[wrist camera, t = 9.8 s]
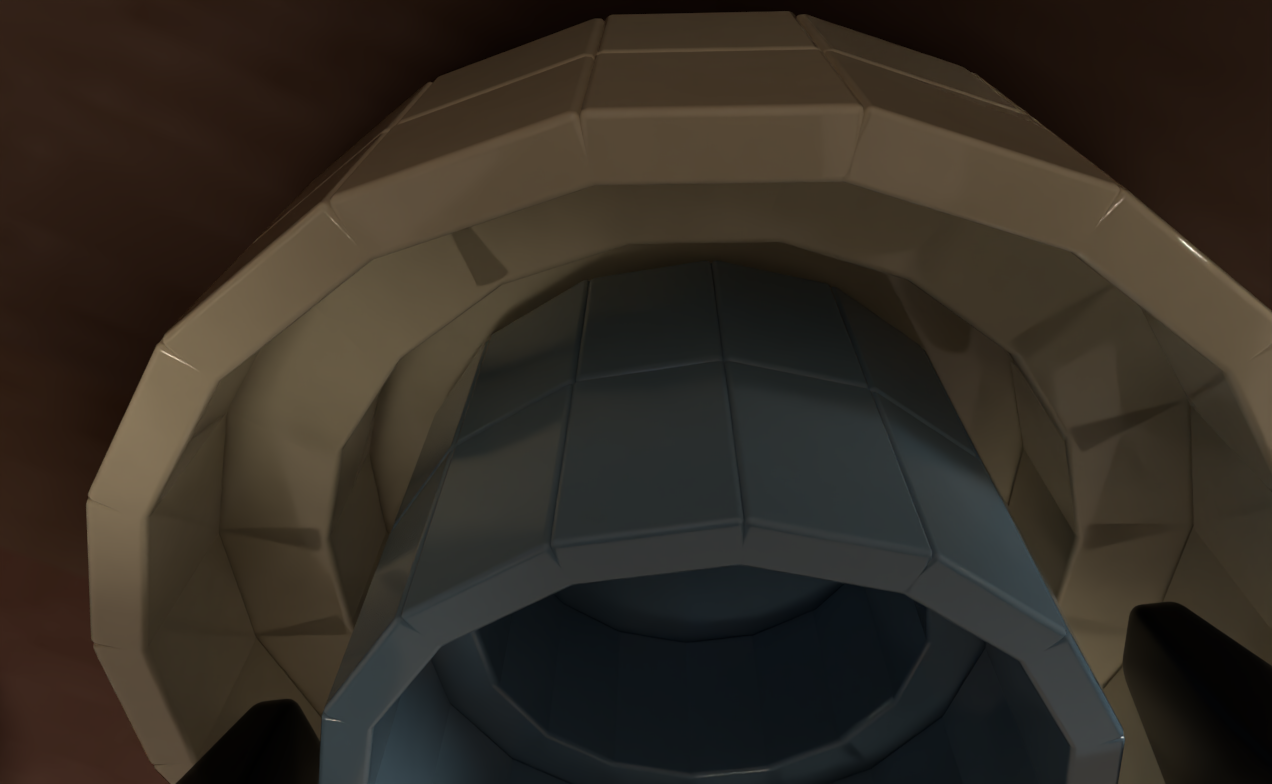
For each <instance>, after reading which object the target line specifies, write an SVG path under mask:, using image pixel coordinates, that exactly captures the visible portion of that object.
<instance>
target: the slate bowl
mask: <svg viewBox="0 0 1272 784" xmlns="http://www.w3.org/2000/svg"><path fill="white" fill-rule="evenodd" d="M1124 745H1125V736H1124V732H1123V727H1122V725H1121V723H1120V721H1119V719H1118V718H1117V716H1116V714H1115V712H1114V710H1113V708H1112V706H1111V704H1110V702H1109V700H1108V698H1107V696H1106V694H1105V692H1104V691H1103V689H1102V687H1101V685H1100V683H1099V681H1098V679H1097V677H1096V675H1095V673H1094V671H1093V669H1092V667H1091V665H1090V664H1089V662H1088V660H1087V658H1086V656H1085V654H1084V652H1083V650H1082V648H1081V646H1080V644H1079V642H1078V640H1077V638H1076V637H1075V635H1074V633H1073V631H1072V629H1071V627H1070V625H1069V623H1068V621H1067V619H1066V617H1065V615H1064V613H1063V611H1062V610H1061V608H1060V606H1059V604H1058V602H1057V600H1056V598H1055V596H1054V594H1053V592H1052V590H1051V588H1050V586H1049V584H1048V583H1047V581H1046V579H1045V577H1044V575H1043V573H1042V571H1041V569H1040V567H1039V565H1038V563H1037V561H1036V559H1035V557H1034V556H1033V554H1032V552H1031V550H1030V548H1029V546H1028V544H1027V542H1026V540H1025V538H1024V536H1023V534H1022V532H1021V531H1020V529H1019V527H1018V525H1017V523H1016V521H1015V519H1014V517H1013V515H1012V513H1011V511H1010V509H1009V507H1008V505H1007V504H1006V502H1005V500H1004V498H1003V496H1002V494H1001V492H1000V490H999V488H998V486H997V484H996V482H995V480H994V478H993V477H992V475H991V473H990V471H989V469H988V467H987V465H986V463H985V461H984V459H983V457H982V455H981V453H980V451H979V450H978V448H977V446H976V444H975V442H974V440H973V438H972V436H971V434H970V432H969V430H968V428H967V426H966V425H965V423H964V421H963V419H962V417H961V415H960V414H959V412H958V410H957V408H956V406H955V404H954V402H953V401H952V399H951V397H950V395H949V393H948V391H947V389H946V388H945V386H944V384H943V382H942V380H941V378H940V376H939V375H938V373H937V371H936V369H935V367H934V365H933V364H932V362H931V360H930V358H929V356H928V354H927V352H926V351H925V350H923V349H922V348H921V346H920V345H919V344H918V343H916V342H915V341H913V340H912V339H911V338H909V337H908V336H906V335H905V334H903V333H902V332H900V331H899V330H898V329H896V328H895V327H893V326H892V325H890V324H889V323H888V322H886V321H885V320H883V319H882V318H880V317H879V316H877V315H876V314H875V313H873V312H872V311H870V310H869V309H867V308H866V307H864V306H863V305H862V304H860V303H859V302H857V301H856V300H854V299H853V298H851V297H850V296H849V295H847V294H846V293H844V292H843V291H841V290H840V289H839V288H837V287H833V286H832V287H831V286H830V285H829V284H827V283H822V282H818V281H813V280H808V279H803V278H799V277H794V276H789V275H784V274H780V273H775V272H770V271H765V270H761V269H756V268H751V267H746V266H742V265H737V264H732V263H727V262H723V261H718V260H714V261H713V262H712V263H710V262H709V261H698V262H692V263H686V264H679V265H673V266H667V267H660V268H654V269H647V270H641V271H635V272H628V273H622V274H616V275H609V276H603V277H597V278H593V279H591V280H590V281H589V280H584V281H582V282H580V283H578V284H577V285H575V286H573V287H572V288H570V289H568V290H567V291H565V292H563V293H561V294H560V295H558V296H556V297H555V298H553V299H551V300H550V301H548V302H546V303H545V304H543V305H541V306H539V307H538V308H536V309H534V310H533V311H531V312H529V313H528V314H526V315H524V316H523V317H521V318H519V319H517V320H516V321H514V322H512V323H511V324H509V325H507V326H506V327H504V328H502V329H501V330H499V331H497V332H495V333H494V334H492V335H491V337H490V340H488V341H486V342H485V343H484V345H483V346H482V347H481V349H480V350H479V352H478V353H477V355H476V356H475V358H474V359H473V360H472V362H471V363H470V365H469V366H468V368H467V369H466V371H465V372H464V373H463V375H462V376H461V378H460V379H459V381H458V382H457V384H456V385H455V386H454V388H453V389H452V391H451V392H450V394H449V395H448V396H447V398H446V399H445V401H444V402H443V404H442V405H441V407H440V408H439V409H438V411H437V412H436V414H435V416H434V419H433V421H432V423H431V426H430V429H429V431H428V434H427V437H426V439H425V442H424V445H423V447H422V450H421V453H420V455H419V458H418V461H417V463H416V466H415V469H414V471H413V474H412V477H411V479H410V482H409V485H408V487H407V490H406V493H405V495H404V498H403V501H402V503H401V506H400V508H399V511H398V514H397V516H396V519H395V522H394V524H393V527H392V530H391V532H390V535H389V537H388V540H387V542H386V545H385V548H384V550H383V553H382V555H381V558H380V561H379V563H378V566H377V569H376V571H375V574H374V577H373V579H372V582H371V585H370V587H369V590H368V593H367V595H366V598H365V601H364V603H363V606H362V609H361V611H360V614H359V617H358V619H357V622H356V624H355V627H354V630H353V632H352V635H351V638H350V640H349V643H348V646H347V648H346V651H345V654H344V656H343V659H342V662H341V664H340V667H339V670H338V672H337V675H336V678H335V680H334V683H333V686H332V688H331V691H330V693H329V696H328V699H327V701H326V704H325V707H324V709H323V712H322V715H321V735H320V757H319V780H318V784H1118V780H1119V774H1120V768H1121V762H1122V756H1123V750H1124Z"/></svg>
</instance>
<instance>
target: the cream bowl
mask: <svg viewBox="0 0 1272 784" xmlns="http://www.w3.org/2000/svg"><path fill="white" fill-rule="evenodd" d="M714 260H718V261H723V262H727V263H732V264H737V265H742V266H746V267H751V268H756V269H761V270H765V271H770V272H775V273H780V274H784V275H789V276H794V277H799V278H803V279H808V280H813V281H818V282H822V283H827V284H829V285H830V286H831V287H832V286H833V287H837V288H839V289H840V290H841V291H843V292H844V293H846V294H847V295H849V296H850V297H851V298H853V299H854V300H856V301H857V302H859V303H860V304H862V305H863V306H864V307H866V308H867V309H869V310H870V311H872V312H873V313H875V314H876V315H877V316H879V317H880V318H882V319H883V320H885V321H886V322H888V323H889V324H890V325H892V326H893V327H895V328H896V329H898V330H899V331H900V332H902V333H903V334H905V335H906V336H908V337H909V338H911V339H912V340H913V341H915V342H916V343H918V344H919V345H920V346H921V348H922V349H923V350H925V351H926V352H927V354H928V356H929V358H930V360H931V362H932V364H933V365H934V367H935V369H936V371H937V373H938V375H939V376H940V378H941V380H942V382H943V384H944V386H945V388H946V389H947V391H948V393H949V395H950V397H951V399H952V401H953V402H954V404H955V406H956V408H957V410H958V412H959V414H960V415H961V417H962V419H963V421H964V423H965V425H966V426H967V428H968V430H969V432H970V434H971V436H972V438H973V440H974V442H975V444H976V446H977V448H978V450H979V451H980V453H981V455H982V457H983V459H984V461H985V463H986V465H987V467H988V469H989V471H990V473H991V475H992V477H993V478H994V480H995V482H996V484H997V486H998V488H999V490H1000V492H1001V494H1002V496H1003V498H1004V500H1005V502H1006V504H1007V505H1008V507H1009V509H1010V511H1011V513H1012V515H1013V517H1014V519H1015V521H1016V523H1017V525H1018V527H1019V529H1020V531H1021V532H1022V534H1023V536H1024V538H1025V540H1026V542H1027V544H1028V546H1029V548H1030V550H1031V552H1032V554H1033V556H1034V557H1035V559H1036V561H1037V563H1038V565H1039V567H1040V569H1041V571H1042V573H1043V575H1044V577H1045V579H1046V581H1047V583H1048V584H1049V586H1050V588H1051V590H1052V592H1053V594H1054V596H1055V598H1056V600H1057V602H1058V604H1059V606H1060V608H1061V610H1062V611H1063V613H1064V615H1065V617H1066V619H1067V621H1068V623H1069V625H1070V627H1071V629H1072V631H1073V633H1074V635H1075V637H1076V638H1077V640H1078V642H1079V644H1080V646H1081V648H1082V650H1083V652H1084V654H1085V656H1086V658H1087V660H1088V662H1089V664H1090V665H1091V667H1092V669H1093V671H1094V673H1095V675H1096V677H1097V679H1098V681H1099V683H1100V685H1101V687H1102V689H1103V691H1104V692H1105V694H1106V696H1107V698H1108V700H1109V702H1110V704H1111V706H1112V708H1113V710H1114V712H1115V714H1116V716H1117V718H1118V719H1119V721H1120V723H1121V725H1122V727H1123V732H1124V736H1125V745H1124V750H1123V756H1122V762H1121V768H1120V774H1119V780H1118V784H1165V781H1164V779H1163V776H1162V773H1161V771H1160V768H1159V766H1158V763H1157V761H1156V758H1155V755H1154V753H1153V750H1152V748H1151V745H1150V743H1149V740H1148V737H1147V735H1146V732H1145V730H1144V727H1143V724H1142V722H1141V719H1140V717H1139V714H1138V712H1137V709H1136V706H1135V704H1134V701H1133V699H1132V696H1131V694H1130V691H1129V688H1128V686H1127V683H1126V680H1125V676H1124V672H1123V662H1122V661H1123V652H1124V646H1125V639H1126V633H1127V626H1128V620H1129V615H1130V612H1131V610H1132V609H1133V608H1134V607H1135V606H1137V605H1141V604H1150V603H1159V602H1176V603H1179V604H1181V605H1183V606H1185V607H1186V608H1188V609H1189V610H1191V611H1192V612H1194V613H1195V614H1197V615H1198V616H1200V617H1201V618H1203V619H1204V620H1205V621H1207V622H1208V623H1210V624H1211V625H1213V626H1214V627H1216V628H1217V629H1219V630H1220V631H1222V632H1223V633H1225V634H1226V635H1228V636H1229V637H1230V638H1232V639H1233V640H1235V641H1236V642H1238V643H1239V644H1241V645H1242V646H1244V647H1245V648H1247V649H1248V650H1250V651H1251V652H1252V653H1254V654H1255V655H1257V656H1258V657H1260V658H1261V659H1263V660H1264V661H1266V662H1267V663H1269V664H1270V665H1272V311H1271V310H1270V309H1269V308H1268V307H1266V306H1265V305H1264V304H1263V303H1262V302H1261V301H1259V300H1258V299H1257V298H1256V297H1255V296H1253V295H1252V294H1251V293H1250V292H1249V291H1247V290H1246V289H1245V288H1244V287H1243V286H1241V285H1240V284H1239V283H1238V282H1237V281H1235V280H1234V279H1233V278H1232V277H1231V276H1230V275H1228V274H1227V273H1226V272H1225V271H1224V270H1222V269H1221V268H1220V267H1219V266H1218V265H1216V264H1215V263H1214V262H1213V261H1212V260H1210V259H1209V258H1208V257H1207V256H1206V255H1205V254H1203V253H1202V252H1201V251H1200V250H1199V249H1197V248H1196V247H1195V246H1194V245H1193V244H1191V243H1190V242H1189V241H1188V240H1187V239H1185V238H1184V237H1183V236H1182V235H1181V234H1180V233H1178V232H1177V231H1176V230H1175V229H1174V228H1172V227H1171V226H1170V225H1169V224H1168V223H1166V222H1165V221H1164V220H1163V219H1162V218H1160V217H1159V216H1158V215H1157V214H1156V213H1155V212H1153V211H1152V210H1151V209H1150V208H1149V207H1147V206H1146V205H1145V204H1144V203H1143V202H1141V201H1140V200H1139V199H1138V198H1137V197H1135V196H1134V195H1133V194H1132V193H1131V192H1130V191H1128V190H1127V189H1126V188H1124V187H1123V186H1122V185H1121V184H1119V183H1118V182H1117V181H1115V180H1114V179H1113V178H1111V177H1110V176H1109V175H1108V174H1106V173H1105V172H1104V171H1102V170H1101V169H1100V168H1098V167H1097V166H1096V165H1095V164H1093V163H1092V162H1091V161H1089V160H1088V159H1087V158H1085V157H1084V156H1083V155H1082V154H1080V153H1079V152H1078V151H1076V150H1075V149H1074V148H1072V147H1071V146H1070V145H1069V144H1067V143H1066V142H1065V141H1063V140H1062V139H1061V138H1059V137H1058V136H1057V135H1056V134H1054V133H1053V132H1052V131H1050V130H1049V129H1048V128H1046V127H1045V126H1044V125H1042V124H1041V123H1039V122H1038V121H1037V120H1036V119H1035V118H1033V117H1032V116H1031V115H1029V114H1028V113H1027V112H1026V111H1024V110H1023V109H1022V108H1020V107H1019V106H1018V105H1016V104H1015V103H1014V102H1013V101H1011V100H1010V99H1009V98H1007V97H1006V96H1005V95H1003V94H1002V93H1001V92H1000V91H998V90H997V89H996V88H994V87H993V86H992V85H990V84H989V83H988V82H987V81H985V80H984V79H983V78H981V77H980V76H979V75H977V74H975V73H970V72H969V71H968V70H967V69H965V68H964V67H962V66H959V65H956V64H953V63H950V62H947V61H944V60H941V59H938V58H935V57H932V56H929V55H926V54H923V53H920V52H917V51H914V50H911V49H908V48H905V47H902V46H899V45H896V44H893V43H890V42H887V41H884V40H881V39H878V38H875V37H872V36H869V35H866V34H863V33H860V32H857V31H854V30H851V29H848V28H845V27H842V26H839V25H836V24H833V23H830V22H827V21H824V20H821V19H818V18H815V17H812V16H809V15H806V14H803V15H798V16H797V17H796V16H795V15H794V14H793V13H791V12H789V11H772V12H722V13H673V14H623V15H610V16H608V17H606V19H605V22H604V21H603V20H602V19H597V18H594V19H592V20H589V21H586V22H584V23H581V24H578V25H576V26H573V27H570V28H567V29H565V30H562V31H559V32H557V33H554V34H551V35H549V36H546V37H543V38H541V39H538V40H535V41H533V42H530V43H527V44H525V45H522V46H519V47H517V48H514V49H511V50H509V51H506V52H503V53H500V54H498V55H495V56H492V57H490V58H487V59H484V60H482V61H479V62H476V63H474V64H471V65H468V66H466V67H463V68H460V69H458V70H455V71H452V72H450V73H447V74H444V75H442V76H439V77H438V78H437V79H436V80H435V81H434V82H433V83H432V82H429V83H426V84H425V85H423V86H422V87H421V88H420V89H419V90H418V91H416V92H415V93H414V94H413V95H412V96H411V97H410V98H408V99H407V100H406V101H405V102H404V103H403V104H401V105H400V106H399V107H398V108H397V109H396V110H394V111H393V112H392V113H391V114H390V115H389V116H388V117H386V118H385V119H384V120H383V121H382V122H381V123H379V124H378V125H377V126H376V127H375V128H374V129H373V130H371V131H370V132H369V133H368V134H367V135H366V136H364V137H363V138H362V139H361V140H360V141H359V142H357V143H356V144H355V145H354V146H353V147H352V148H351V149H349V150H348V151H347V152H346V153H345V154H344V155H342V156H341V157H340V158H339V159H338V160H337V161H335V162H334V163H333V164H332V165H331V166H330V167H329V168H327V169H326V170H325V171H324V172H323V173H322V174H320V175H319V176H318V177H317V178H316V179H315V180H313V181H312V182H311V183H310V184H309V185H308V186H307V187H306V188H305V189H304V190H303V191H302V192H301V193H300V194H299V196H298V197H297V198H296V199H295V200H294V201H293V202H292V203H291V204H290V205H289V206H288V207H287V208H286V209H285V210H284V211H283V212H282V213H281V214H280V215H279V216H278V217H277V218H276V219H275V220H274V221H273V222H272V223H271V224H270V225H269V226H268V227H267V228H266V230H265V231H264V232H263V233H262V234H261V235H260V236H259V237H258V238H257V239H256V240H255V241H254V242H253V244H252V245H251V246H249V247H248V248H247V249H246V250H245V251H244V252H243V253H242V254H241V255H240V256H239V257H238V259H237V260H236V261H235V262H234V263H233V264H232V265H231V266H230V267H229V268H228V269H227V270H226V271H225V272H224V273H223V274H222V275H221V276H220V277H219V278H218V279H217V280H216V281H215V282H214V283H213V284H212V285H211V286H210V287H209V288H208V289H207V290H206V292H205V293H204V294H203V295H202V296H201V297H200V298H199V299H198V300H197V301H196V302H195V303H194V304H193V305H192V306H191V307H190V308H189V309H188V310H187V311H186V312H185V313H184V314H183V315H182V316H181V317H180V318H179V319H178V320H177V321H176V322H175V323H174V325H173V326H172V327H171V328H170V329H169V330H168V331H167V332H166V333H165V334H164V337H163V338H162V339H161V340H160V341H159V342H158V343H157V344H156V346H155V348H154V350H153V352H152V355H151V357H150V359H149V361H148V363H147V365H146V368H145V370H144V372H143V374H142V376H141V378H140V380H139V383H138V385H137V387H136V389H135V391H134V393H133V396H132V398H131V400H130V402H129V404H128V406H127V409H126V411H125V413H124V415H123V417H122V419H121V421H120V424H119V426H118V428H117V430H116V432H115V434H114V437H113V439H112V441H111V443H110V445H109V447H108V450H107V452H106V454H105V456H104V458H103V460H102V462H101V465H100V467H99V469H98V471H97V473H96V475H95V478H94V480H93V482H92V484H91V486H90V488H89V492H88V497H89V498H88V499H87V502H86V515H87V541H88V568H89V595H90V622H91V640H92V642H93V643H94V651H95V653H96V655H97V657H98V659H99V661H100V663H101V665H102V667H103V669H104V671H105V673H106V675H107V677H108V679H109V681H110V683H111V685H112V687H113V689H114V691H115V693H116V695H117V697H118V699H119V701H120V703H121V705H122V707H123V709H124V711H125V713H126V715H127V717H128V719H129V721H130V723H131V725H132V727H133V729H134V731H135V733H136V735H137V737H138V739H139V741H140V744H141V746H142V748H143V750H144V752H145V754H146V756H147V758H148V760H149V762H150V763H152V764H154V768H155V770H156V771H157V772H158V773H159V774H160V775H161V776H162V777H163V778H164V779H165V780H166V781H167V782H168V783H169V784H176V783H177V782H178V781H179V780H180V779H181V778H182V777H183V776H184V775H185V774H186V773H187V772H188V771H189V770H190V769H191V768H192V767H193V765H194V764H195V763H196V762H197V761H198V760H199V759H200V758H201V757H202V756H203V755H204V754H205V753H206V752H207V751H208V750H209V749H210V748H211V747H212V746H213V745H214V744H215V743H216V742H217V741H218V740H219V739H220V738H221V737H222V736H223V735H224V734H225V733H226V732H227V731H228V730H229V729H230V728H231V727H232V726H233V725H234V724H235V723H236V722H237V721H238V720H239V719H240V718H241V717H242V716H243V715H244V714H245V713H246V712H247V711H248V710H249V709H250V708H251V707H252V706H254V705H255V704H257V703H259V702H262V701H270V700H279V699H292V700H294V701H296V702H297V703H298V704H299V706H300V707H301V709H302V711H303V712H304V714H305V716H306V718H307V719H308V721H309V723H310V725H311V726H312V728H313V730H314V731H315V733H316V735H317V737H318V738H319V740H320V735H321V715H322V712H323V709H324V707H325V704H326V701H327V699H328V696H329V693H330V691H331V688H332V686H333V683H334V680H335V678H336V675H337V672H338V670H339V667H340V664H341V662H342V659H343V656H344V654H345V651H346V648H347V646H348V643H349V640H350V638H351V635H352V632H353V630H354V627H355V624H356V622H357V619H358V617H359V614H360V611H361V609H362V606H363V603H364V601H365V598H366V595H367V593H368V590H369V587H370V585H371V582H372V579H373V577H374V574H375V571H376V569H377V566H378V563H379V561H380V558H381V555H382V553H383V550H384V548H385V545H386V542H387V540H388V537H389V535H390V532H391V530H392V527H393V524H394V522H395V519H396V516H397V514H398V511H399V508H400V506H401V503H402V501H403V498H404V495H405V493H406V490H407V487H408V485H409V482H410V479H411V477H412V474H413V471H414V469H415V466H416V463H417V461H418V458H419V455H420V453H421V450H422V447H423V445H424V442H425V439H426V437H427V434H428V431H429V429H430V426H431V423H432V421H433V419H434V416H435V414H436V412H437V411H438V409H439V408H440V407H441V405H442V404H443V402H444V401H445V399H446V398H447V396H448V395H449V394H450V392H451V391H452V389H453V388H454V386H455V385H456V384H457V382H458V381H459V379H460V378H461V376H462V375H463V373H464V372H465V371H466V369H467V368H468V366H469V365H470V363H471V362H472V360H473V359H474V358H475V356H476V355H477V353H478V352H479V350H480V349H481V347H482V346H483V345H484V343H485V342H486V341H488V340H490V337H491V335H492V334H494V333H495V332H497V331H499V330H501V329H502V328H504V327H506V326H507V325H509V324H511V323H512V322H514V321H516V320H517V319H519V318H521V317H523V316H524V315H526V314H528V313H529V312H531V311H533V310H534V309H536V308H538V307H539V306H541V305H543V304H545V303H546V302H548V301H550V300H551V299H553V298H555V297H556V296H558V295H560V294H561V293H563V292H565V291H567V290H568V289H570V288H572V287H573V286H575V285H577V284H578V283H580V282H582V281H584V280H589V281H590V280H591V279H593V278H597V277H603V276H609V275H616V274H622V273H628V272H635V271H641V270H647V269H654V268H660V267H667V266H673V265H679V264H686V263H692V262H698V261H709V262H710V263H712V262H713V261H714Z"/></svg>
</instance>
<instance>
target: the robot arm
mask: <svg viewBox="0 0 1272 784" xmlns="http://www.w3.org/2000/svg"><path fill="white" fill-rule="evenodd" d="M1122 662H1123V672H1124V676H1125V680H1126V683H1127V686H1128V688H1129V691H1130V694H1131V696H1132V699H1133V701H1134V704H1135V706H1136V709H1137V712H1138V714H1139V717H1140V719H1141V722H1142V724H1143V727H1144V730H1145V732H1146V735H1147V737H1148V740H1149V743H1150V745H1151V748H1152V750H1153V753H1154V755H1155V758H1156V761H1157V763H1158V766H1159V768H1160V771H1161V773H1162V776H1163V779H1164V781H1165V784H1272V665H1270V664H1269V663H1267V662H1266V661H1264V660H1263V659H1261V658H1260V657H1258V656H1257V655H1255V654H1254V653H1252V652H1251V651H1250V650H1248V649H1247V648H1245V647H1244V646H1242V645H1241V644H1239V643H1238V642H1236V641H1235V640H1233V639H1232V638H1230V637H1229V636H1228V635H1226V634H1225V633H1223V632H1222V631H1220V630H1219V629H1217V628H1216V627H1214V626H1213V625H1211V624H1210V623H1208V622H1207V621H1205V620H1204V619H1203V618H1201V617H1200V616H1198V615H1197V614H1195V613H1194V612H1192V611H1191V610H1189V609H1188V608H1186V607H1185V606H1183V605H1181V604H1179V603H1176V602H1159V603H1150V604H1141V605H1137V606H1135V607H1134V608H1133V609H1132V610H1131V612H1130V615H1129V620H1128V626H1127V633H1126V639H1125V646H1124V652H1123V661H1122ZM319 757H320V740H319V738H318V737H317V735H316V733H315V731H314V730H313V728H312V726H311V725H310V723H309V721H308V719H307V718H306V716H305V714H304V712H303V711H302V709H301V707H300V706H299V704H298V703H297V702H296V701H294V700H292V699H279V700H270V701H262V702H259V703H257V704H255V705H254V706H252V707H251V708H250V709H249V710H248V711H247V712H246V713H245V714H244V715H243V716H242V717H241V718H240V719H239V720H238V721H237V722H236V723H235V724H234V725H233V726H232V727H231V728H230V729H229V730H228V731H227V732H226V733H225V734H224V735H223V736H222V737H221V738H220V739H219V740H218V741H217V742H216V743H215V744H214V745H213V746H212V747H211V748H210V749H209V750H208V751H207V752H206V753H205V754H204V755H203V756H202V757H201V758H200V759H199V760H198V761H197V762H196V763H195V764H194V765H193V767H192V768H191V769H190V770H189V771H188V772H187V773H186V774H185V775H184V776H183V777H182V778H181V779H180V780H179V781H178V782H177V783H176V784H318V780H319Z"/></svg>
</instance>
